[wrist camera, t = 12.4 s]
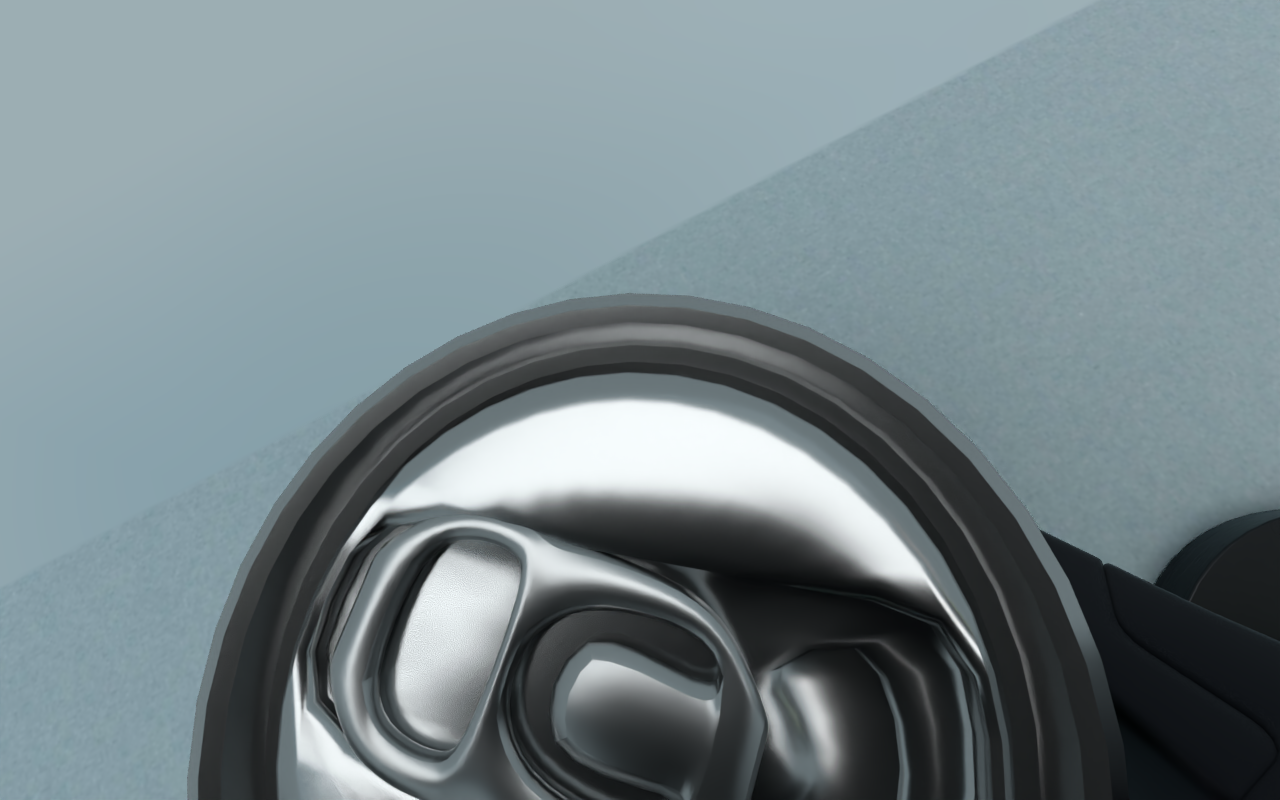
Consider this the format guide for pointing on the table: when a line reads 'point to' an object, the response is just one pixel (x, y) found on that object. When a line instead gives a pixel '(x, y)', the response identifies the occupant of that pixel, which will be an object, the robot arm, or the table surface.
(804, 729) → the soda can
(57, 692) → the table surface
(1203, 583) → the desk lamp
